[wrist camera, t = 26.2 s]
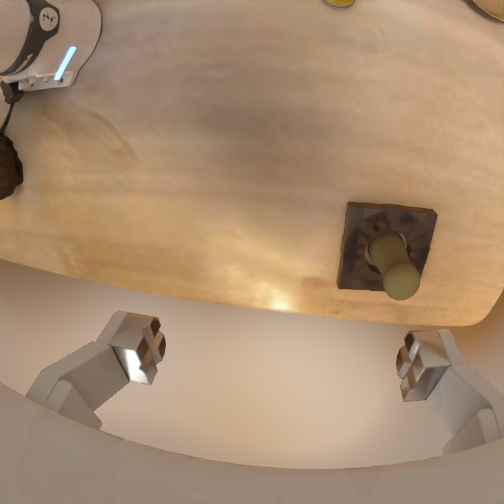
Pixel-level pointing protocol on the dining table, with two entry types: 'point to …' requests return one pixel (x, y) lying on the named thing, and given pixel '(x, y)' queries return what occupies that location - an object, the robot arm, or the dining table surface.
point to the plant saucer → (492, 7)
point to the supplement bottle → (339, 3)
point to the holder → (371, 224)
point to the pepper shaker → (394, 265)
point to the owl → (9, 168)
